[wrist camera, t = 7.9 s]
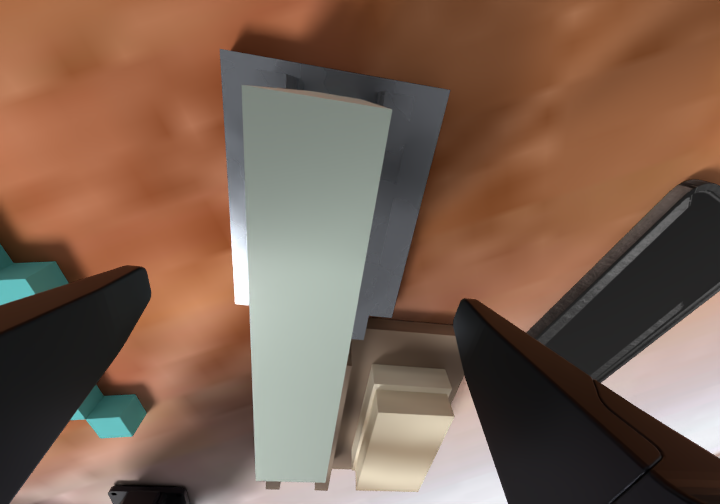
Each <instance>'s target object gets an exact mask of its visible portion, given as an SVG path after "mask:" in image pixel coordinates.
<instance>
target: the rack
mask: <svg viewBox="0 0 720 504" xmlns="http://www.w3.org/2000/svg"><path fill="white" fill-rule="evenodd" d="M372 364H379V365H393V366H407V367H421V368H435V369H445V371H446V373H447V376H448V379H449V382H450V384H451V387H452V390H451V392H450V395H449V397H448V399H449V402H450V405H451V402H452V400H453V398H454V396H455V394H456V392H457V389H458V387H459V385H460V383H461V381H462V379H463V376H464V372H463V368H462V364H461V359H460V355H459V350H458V346H457V341H456V337H455V332H454V328H453V325H445V324H434V323H422V322H411V321H400V320H388V319H377V318H368V322H367V327H366V332H365V336H364V340H357V339H351V343H350V349H349V354H348V360H347V365H346V371H345V376H344V382H343V388H342V393H341V399H340V404H339V410H338V416H337V421H336V427H335V432H334V438H333V443H332V449H331V455H330V460H329V466H328V471H327V477H326V482H325V483H319V482H315V490H324V491H328V486H329V481H330V475H331V470H332V469H352V446H353V441H354V437H355V433H356V429H357V425H358V421H359V417H360V412H361V408H362V404H363V400H364V396H365V392H366V387H367V383H368V379H369V375H370V371H371V367H372ZM279 488H280V482H279V481H266V489H279Z"/></svg>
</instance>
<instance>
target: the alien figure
mask: <svg viewBox="0 0 720 504" xmlns="http://www.w3.org/2000/svg"><path fill="white" fill-rule="evenodd" d="M66 284H69V283H68V281H67V279H66V278H65V276H64V274H63V273H62V271H61V269H60V268H59V266H58V264H57V263H56V261H52V262H29V263H13V262H12V260H11V259H10V257H9V256H8V254H7V253H6V251H5V250H4V248H3V247H2V246H1V244H0V305H3V304H6V303H9V302H12V301H15V300H18V299H22V298H25V297H28V296H31V295H34V294H37V293H40V292H44V291H47V290H50V289H53V288H56V287H59V286H63V285H66ZM146 414H147V413H146V411H145V409H144V408H143V406H142V404H141V403H140V401H139V399H138V398H137V396H136V394H131V395H113V396H104V395H103V394H102V392H101V391H100V389H99V388H98V386H97V385H95V386H94V388H93V389H92V391H91V392H90V393H89V395H88V396H87V397H86V399H85V400H84V402H83V403H82V404H81V406H80V407H79V408H78V410H77V411H76V413H75V414H74V415H73V417H72V418H71V420H81V419H86V420H87V422H88V423H89V424H90V426H91V427H92V428H93V429H94V431H95V432H96V433H97V435H98V436H99V437H100V438H115V437H131V436H133V435H134V433H135V432H136V430H137V428H138V427H139V425H140V424H141V422H142V420H143V419H144V417H145V415H146Z"/></svg>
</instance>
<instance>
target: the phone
mask: <svg viewBox="0 0 720 504" xmlns="http://www.w3.org/2000/svg"><path fill="white" fill-rule="evenodd" d="M719 291H720V186H719V185H717V184H714V183H710V182H706V181H702V180H688V181H685V182H683V183H681V184H679V185H677V186H676V187H675V188H673V189H672V190H671V191H670V192H669V193H668V194H667V195H666V196H665V197H664V198H663V199H662V200H661V201H660V202H659V203H657V204H656V205H655V206H654V207H653V208H652V209H651V210H650V211H649V212H648V213H647V214H646V215H645V216H644V217H643V218H642V219H641V220H640V221H639V222H638V223H637V224H636V225H635V226H634V227H633V228H632V229H631V230H630V231H629V232H628V233H627V234H626V235H625V236H624V237H623V238H622V239H621V240H620V241H619V242H618V243H617V244H616V245H615V246H614V247H613V248H612V249H611V250H610V251H609V252H608V253H607V254H606V255H605V256H604V257H603V258H602V259H601V260H600V261H599V262H598V263H597V264H596V265H595V266H594V267H593V268H592V269H591V270H590V271H589V272H588V273H586V274H585V275H584V276H583V277H582V278H581V279H580V280H579V281H578V282H577V283H576V284H575V285H574V286H573V287H572V288H571V289H570V290H569V291H568V292H567V293H566V294H565V295H564V296H563V297H562V298H561V299H560V300H559V301H558V302H557V303H556V304H555V305H554V306H553V307H552V308H551V309H550V310H549V311H548V312H547V313H546V314H545V315H544V316H543V317H542V318H541V319H540V320H539V321H538V322H537V323H536V324H535V325H534V326H533V327H532V328H531V329H530V330H529V331H528V332H527V334H528V335H530V336H531V337H533V338H534V339H536V340H537V341H539V342H540V343H542V344H543V345H545V346H546V347H548V348H549V349H551V350H552V351H554V352H555V353H557V354H558V355H560V356H561V357H562V358H564V359H565V360H567V361H568V362H570V363H571V364H573V365H574V366H576V367H577V368H579V369H580V370H582V371H583V372H585V373H586V374H588V375H589V376H591V377H592V379H595V380H597V381H598V382H600V383H601V382H602V381H604V380H605V379H606V378H608V377H609V376H610V375H611V374H613V373H614V372H615V371H617V370H618V369H619V368H621V367H622V366H623V365H624V364H626V363H627V362H628V361H630V360H631V359H632V358H633V357H635V356H636V355H637V354H639V353H640V352H641V351H642V350H644V349H645V348H646V347H648V346H649V345H650V344H652V343H653V342H654V341H655V340H657V339H658V338H659V337H661V336H662V335H663V334H664V333H666V332H667V331H668V330H670V329H671V328H672V327H674V326H675V325H676V324H677V323H679V322H680V321H681V320H683V319H684V318H685V317H686V316H688V315H689V314H690V313H692V312H693V311H694V310H696V309H697V308H698V307H699V306H701V305H702V304H703V303H705V302H706V301H707V300H708V299H710V298H711V297H712V296H714V295H715V294H716V293H718V292H719Z"/></svg>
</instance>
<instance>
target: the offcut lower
mask: <svg viewBox="0 0 720 504" xmlns="http://www.w3.org/2000/svg"><path fill="white" fill-rule="evenodd" d="M376 389H377V390H393V391H409V392H425V393H441V394H447V396H448V397H449V395H450V392H451V390H452V387H451V384H450V382H449V379H448V376H447V373H446V371H445V369H435V368H421V367H407V366H393V365H379V364H372V367H371V371H370V375H369V379H368V383H367V387H366V392H365V396H364V400H363V404H362V408H361V412H360V417H359V421H358V425H357V429H356V433H355V437H354V441H353V446H352V470H354V471H355V467H356V463H357V459H358V455H359V451H360V448H361V444H362V440H363V436H364V432H365V429H366V425H367V421H368V417H369V414H370V410H371V406H372V402H373V398H374V395H375V391H376Z"/></svg>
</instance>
